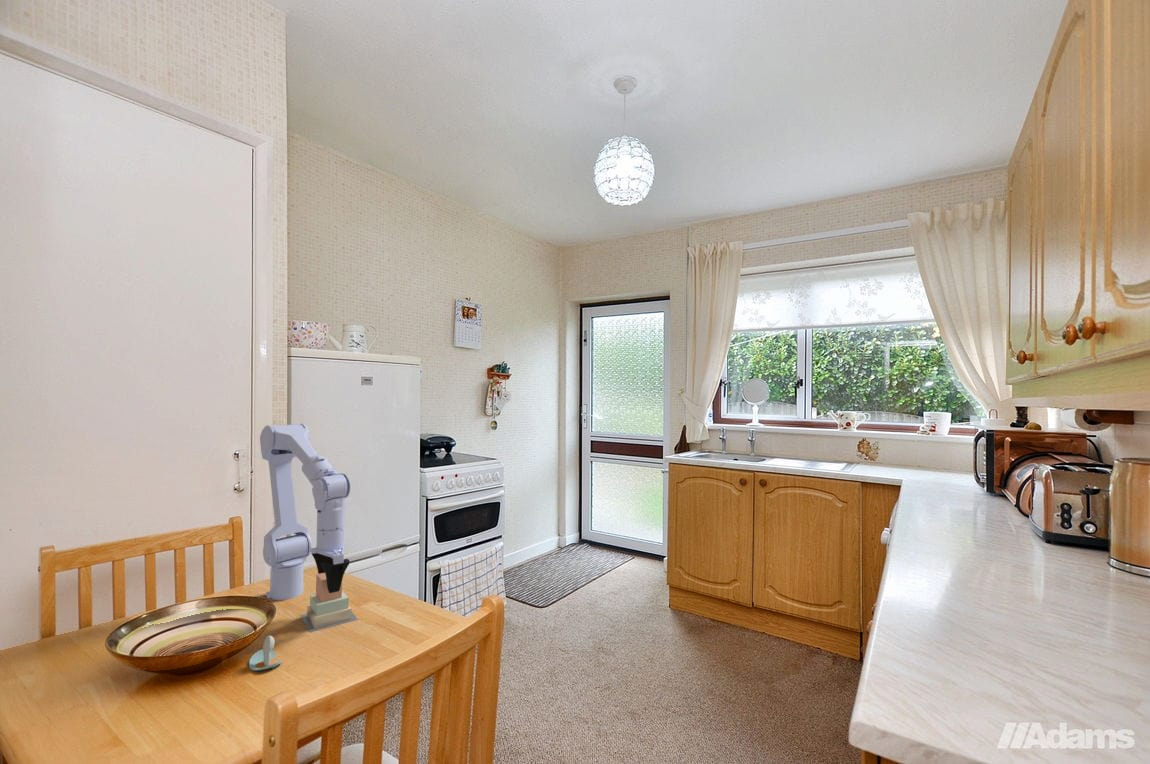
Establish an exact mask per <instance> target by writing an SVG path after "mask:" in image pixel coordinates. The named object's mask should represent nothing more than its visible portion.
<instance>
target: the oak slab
mask: <svg viewBox="0 0 1150 764" xmlns="http://www.w3.org/2000/svg"><path fill="white" fill-rule="evenodd" d="M351 611H352V607H351V606H350V604H348V609H344V610H340V611H336V612H332V613H328V614H324V615H320V616H317V615H316V614H315V612H314V611H313V609H312V608H311V606H310V604H308V605H307V606H306V614H307V617H308V618H309V620H310V622H311V623H312V625H313V626H314V628H319V627H323V626H326V625H330V624H334V623H338V622H341V621H345V620H349V619H351Z"/></svg>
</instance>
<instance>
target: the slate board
mask: <svg viewBox="0 0 1150 764" xmlns="http://www.w3.org/2000/svg"><path fill="white" fill-rule="evenodd" d="M299 617H301V620H302V621H303V623H304V625H305V626H306V628H307V629H308V632H309V633H314V632H317V631H321V630H325V629H328V628H332V627H336V626H340V625H344V624H347V623H350V622H355V621H358V620H359V619H358V617H357V616H356V615H355V614H354V612H352V610H351V619H349V620H345V621H341V622H338V623H334V624H330V625H326V626H323V627H319V628H314V626H313V625H312V623H311V622H310V620H309V618H308V617H307V613H305V614H301V615H300V616H299Z"/></svg>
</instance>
